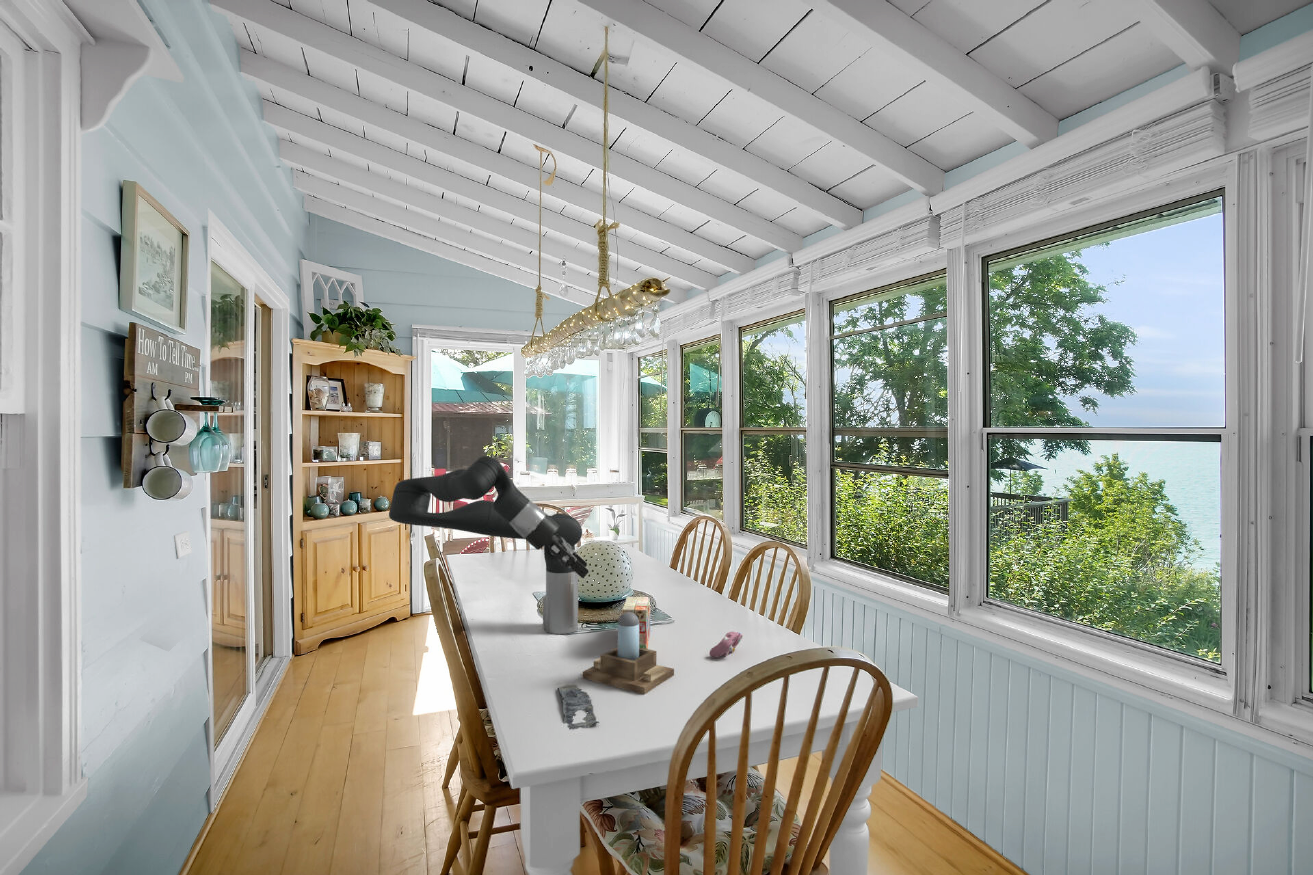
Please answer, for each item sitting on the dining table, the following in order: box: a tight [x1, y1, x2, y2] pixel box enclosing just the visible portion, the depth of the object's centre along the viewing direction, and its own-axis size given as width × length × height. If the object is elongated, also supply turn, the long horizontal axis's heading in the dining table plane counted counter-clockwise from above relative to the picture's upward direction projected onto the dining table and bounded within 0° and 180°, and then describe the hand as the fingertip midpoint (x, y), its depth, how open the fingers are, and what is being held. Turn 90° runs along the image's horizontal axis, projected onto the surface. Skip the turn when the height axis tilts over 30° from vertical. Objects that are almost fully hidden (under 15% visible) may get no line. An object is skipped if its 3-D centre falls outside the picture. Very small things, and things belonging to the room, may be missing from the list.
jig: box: [582, 646, 675, 695], centre depth 149 cm, size 17×13×6 cm
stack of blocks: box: [622, 596, 651, 649], centre depth 173 cm, size 21×6×12 cm, turn 178°
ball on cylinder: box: [617, 612, 639, 661], centre depth 149 cm, size 5×5×14 cm
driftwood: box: [557, 684, 601, 730], centre depth 133 cm, size 21×7×2 cm, turn 13°
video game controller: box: [709, 630, 744, 659], centre depth 165 cm, size 10×5×7 cm, turn 150°
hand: (585, 571), depth 150 cm, fingers open, 8 cm apart
